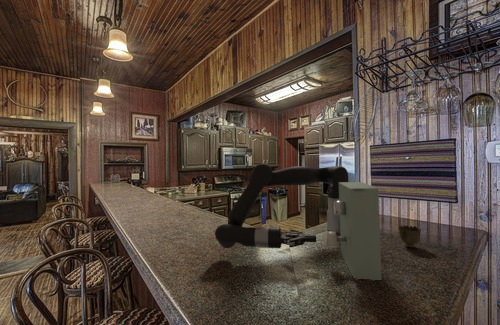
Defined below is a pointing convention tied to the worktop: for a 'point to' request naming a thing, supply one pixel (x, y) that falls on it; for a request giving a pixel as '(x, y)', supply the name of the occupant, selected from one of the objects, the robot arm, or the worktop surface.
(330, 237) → the lower knob
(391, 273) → the worktop surface
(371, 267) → the block
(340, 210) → the upper knob
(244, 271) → the worktop surface
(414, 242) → the cup
